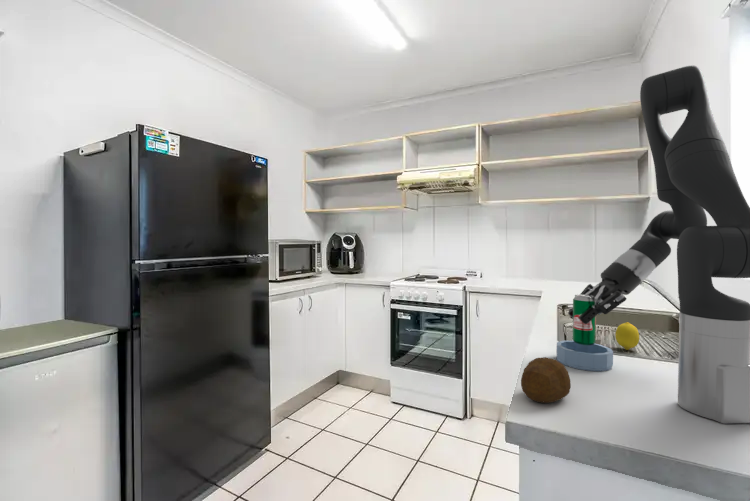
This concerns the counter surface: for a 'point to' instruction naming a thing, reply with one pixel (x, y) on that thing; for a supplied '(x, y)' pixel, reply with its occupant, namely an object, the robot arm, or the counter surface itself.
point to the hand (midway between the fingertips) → (576, 318)
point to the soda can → (581, 331)
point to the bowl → (584, 356)
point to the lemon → (627, 335)
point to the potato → (545, 380)
